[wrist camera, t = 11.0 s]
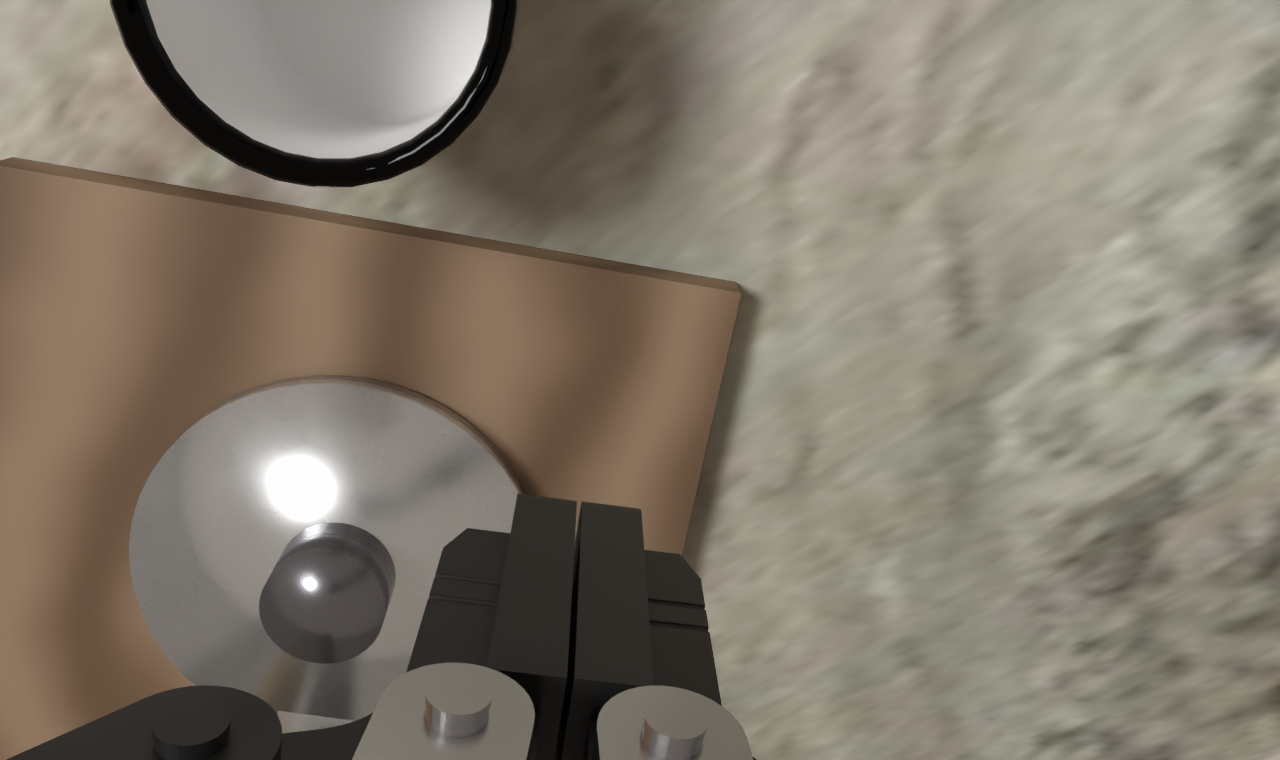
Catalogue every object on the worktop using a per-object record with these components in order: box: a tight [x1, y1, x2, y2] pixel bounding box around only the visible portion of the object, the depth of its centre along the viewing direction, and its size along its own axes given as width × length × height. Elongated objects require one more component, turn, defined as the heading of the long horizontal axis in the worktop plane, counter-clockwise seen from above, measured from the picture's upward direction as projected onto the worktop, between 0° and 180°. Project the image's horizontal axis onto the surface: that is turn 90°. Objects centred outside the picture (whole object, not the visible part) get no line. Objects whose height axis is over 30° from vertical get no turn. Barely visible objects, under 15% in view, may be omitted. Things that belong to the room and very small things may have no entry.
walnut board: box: [0, 157, 742, 760], centre depth 36 cm, size 24×24×6 cm
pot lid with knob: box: [129, 375, 525, 733], centre depth 36 cm, size 19×14×5 cm
